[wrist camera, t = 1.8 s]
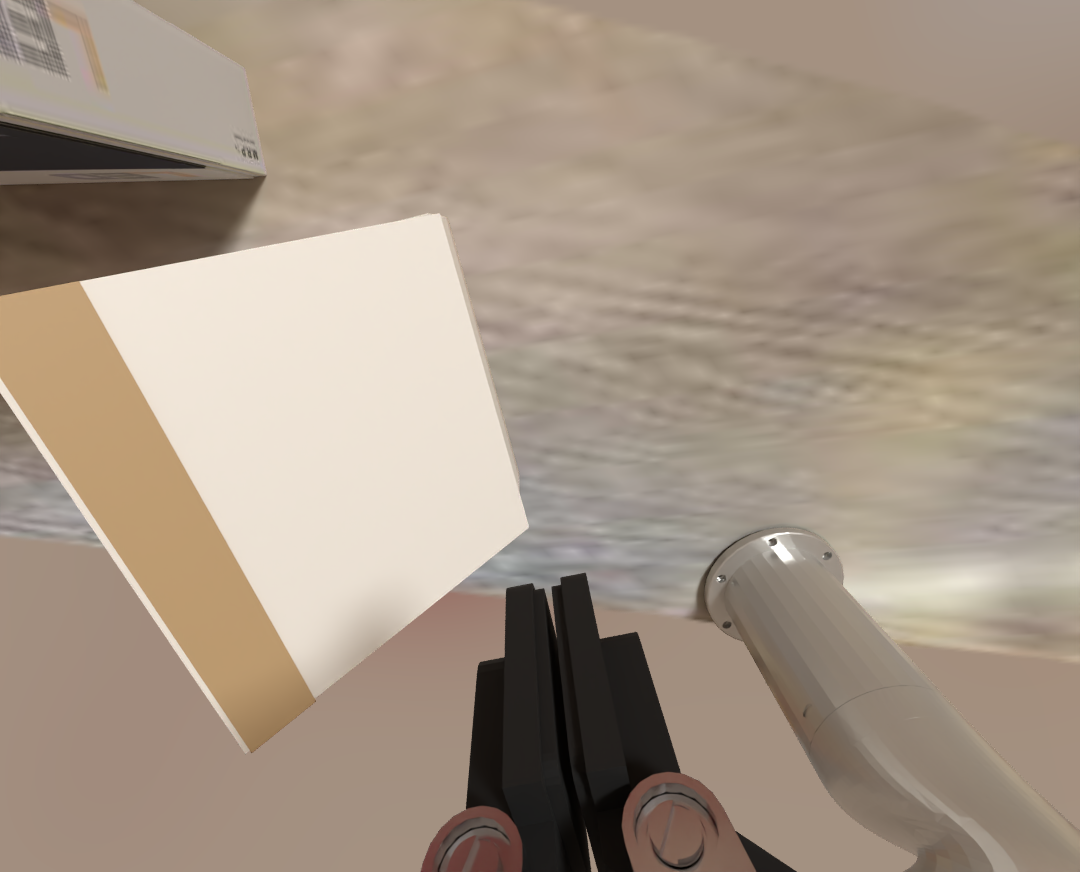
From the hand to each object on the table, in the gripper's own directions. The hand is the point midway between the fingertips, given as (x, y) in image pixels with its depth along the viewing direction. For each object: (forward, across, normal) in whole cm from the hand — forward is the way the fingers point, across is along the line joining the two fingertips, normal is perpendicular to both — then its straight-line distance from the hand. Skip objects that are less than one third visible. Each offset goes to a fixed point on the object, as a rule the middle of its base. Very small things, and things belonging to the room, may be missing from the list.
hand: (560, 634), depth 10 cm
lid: (+15, +10, +1) cm, 17 cm away
